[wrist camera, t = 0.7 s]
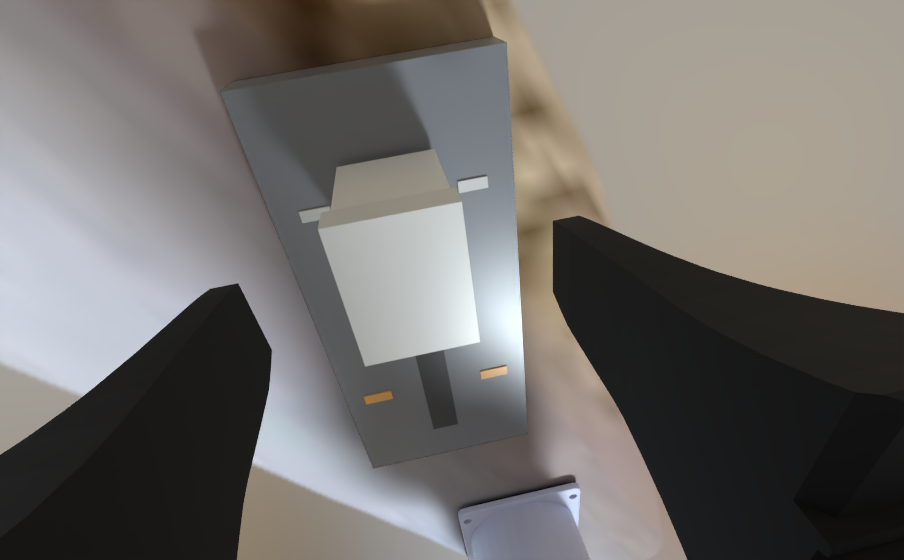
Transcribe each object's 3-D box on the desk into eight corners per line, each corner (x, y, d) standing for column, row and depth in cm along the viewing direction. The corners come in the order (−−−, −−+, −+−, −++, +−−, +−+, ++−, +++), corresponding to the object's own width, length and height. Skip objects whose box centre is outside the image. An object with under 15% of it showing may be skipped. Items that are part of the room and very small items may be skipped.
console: (519, 410, 24) (527, 434, 23) (372, 442, 24) (373, 469, 22) (493, 36, 14) (506, 42, 13) (233, 81, 13) (219, 92, 12)
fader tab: (449, 246, 16) (480, 342, 12) (364, 263, 16) (365, 366, 11) (431, 132, 13) (461, 201, 9) (331, 150, 13) (317, 229, 9)
